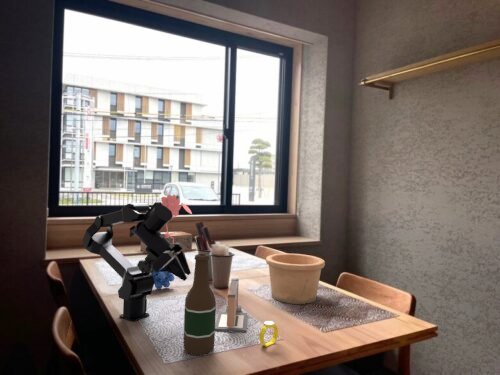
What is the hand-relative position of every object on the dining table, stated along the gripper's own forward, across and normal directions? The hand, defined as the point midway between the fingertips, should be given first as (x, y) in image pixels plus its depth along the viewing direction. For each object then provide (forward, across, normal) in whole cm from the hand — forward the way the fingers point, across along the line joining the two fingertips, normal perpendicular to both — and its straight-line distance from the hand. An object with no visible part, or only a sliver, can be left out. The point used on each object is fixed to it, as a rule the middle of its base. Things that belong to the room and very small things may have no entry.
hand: (187, 276), depth 113 cm
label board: (+19, -4, 0) cm, 20 cm away
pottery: (+34, -29, +15) cm, 48 cm away
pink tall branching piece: (-6, -70, -25) cm, 75 cm away
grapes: (-2, -31, -21) cm, 38 cm away
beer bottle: (+14, +18, -5) cm, 23 cm away
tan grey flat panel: (+18, -3, +1) cm, 19 cm away
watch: (+27, +13, +8) cm, 31 cm away
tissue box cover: (-13, -109, -33) cm, 114 cm away
